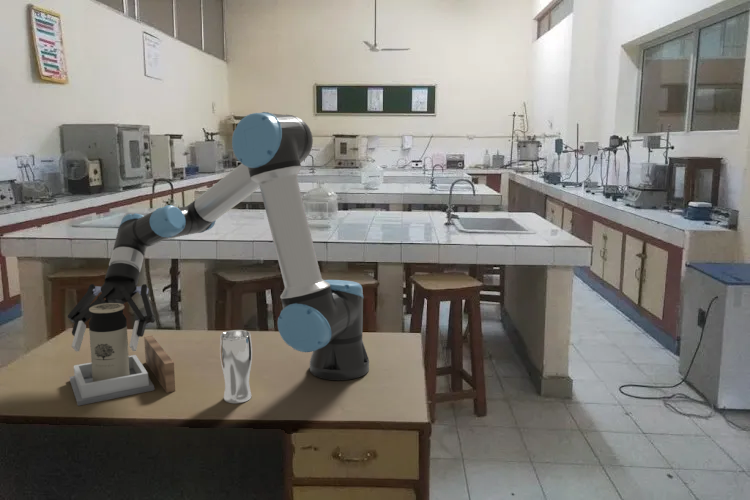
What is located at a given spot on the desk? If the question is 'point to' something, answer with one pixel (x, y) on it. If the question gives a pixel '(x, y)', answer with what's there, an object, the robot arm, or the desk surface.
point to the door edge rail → (160, 364)
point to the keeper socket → (109, 383)
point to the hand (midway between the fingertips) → (104, 348)
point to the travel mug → (108, 341)
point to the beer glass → (236, 364)
